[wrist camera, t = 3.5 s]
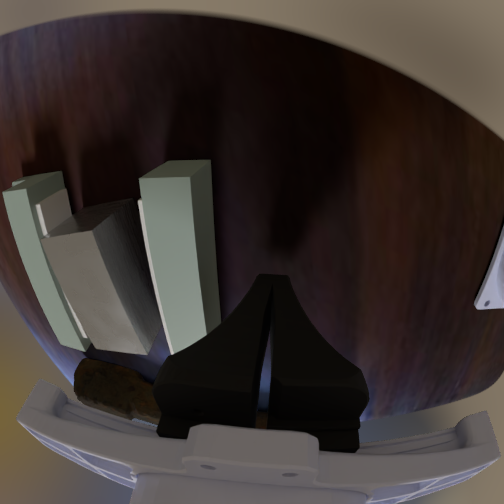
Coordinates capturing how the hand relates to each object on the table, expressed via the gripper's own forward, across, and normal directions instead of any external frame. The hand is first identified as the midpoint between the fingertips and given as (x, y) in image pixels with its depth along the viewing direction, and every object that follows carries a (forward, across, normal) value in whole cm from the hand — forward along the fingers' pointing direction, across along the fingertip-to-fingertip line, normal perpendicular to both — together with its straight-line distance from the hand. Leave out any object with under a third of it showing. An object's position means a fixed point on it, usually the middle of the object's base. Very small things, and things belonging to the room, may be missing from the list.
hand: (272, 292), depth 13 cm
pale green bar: (+2, +13, 0) cm, 13 cm away
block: (+2, +8, 0) cm, 9 cm away
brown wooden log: (+2, +7, +14) cm, 16 cm away
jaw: (+2, +4, 0) cm, 4 cm away
